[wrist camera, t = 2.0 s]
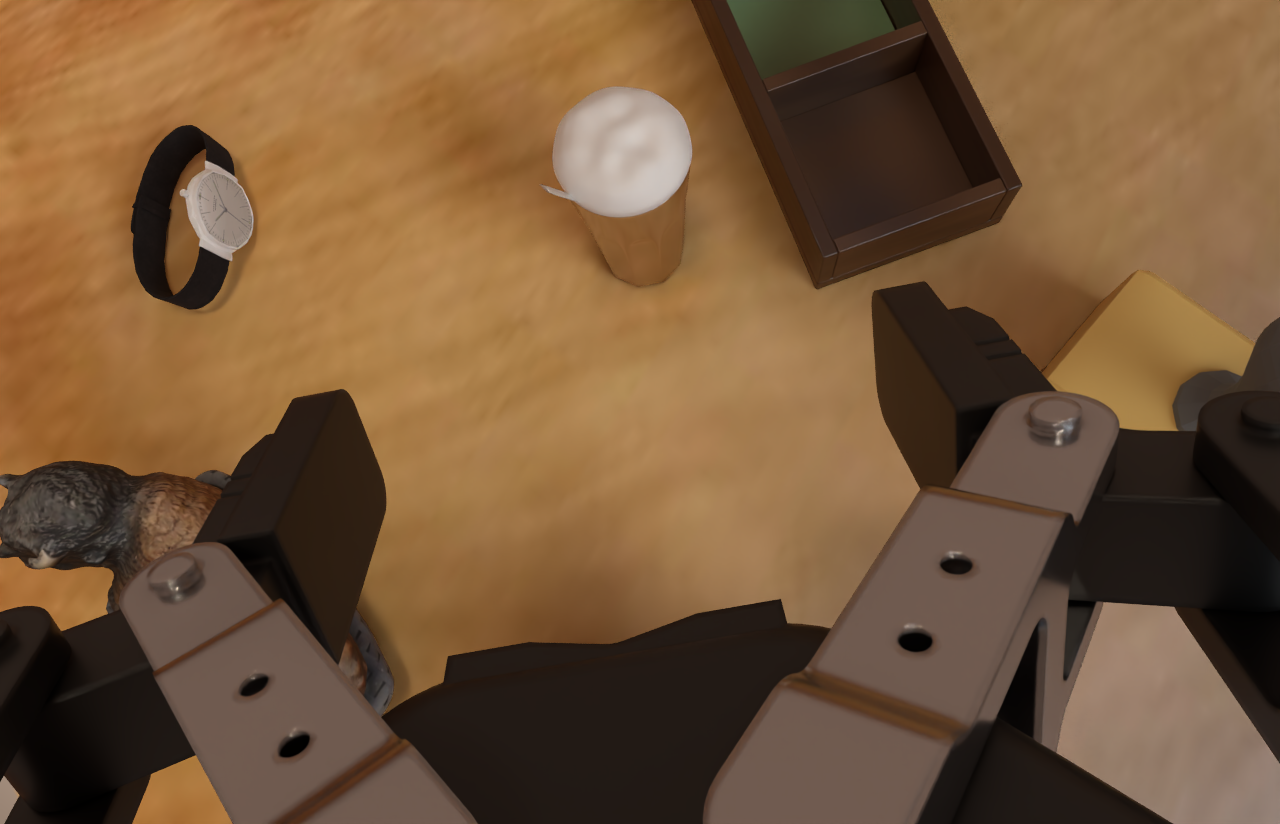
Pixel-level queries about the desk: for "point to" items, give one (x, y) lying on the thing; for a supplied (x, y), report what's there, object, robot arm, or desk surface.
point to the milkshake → (627, 178)
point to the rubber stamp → (1161, 357)
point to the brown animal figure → (137, 537)
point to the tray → (861, 126)
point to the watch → (211, 212)
